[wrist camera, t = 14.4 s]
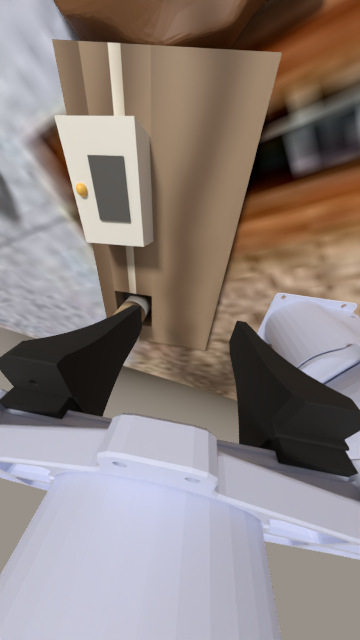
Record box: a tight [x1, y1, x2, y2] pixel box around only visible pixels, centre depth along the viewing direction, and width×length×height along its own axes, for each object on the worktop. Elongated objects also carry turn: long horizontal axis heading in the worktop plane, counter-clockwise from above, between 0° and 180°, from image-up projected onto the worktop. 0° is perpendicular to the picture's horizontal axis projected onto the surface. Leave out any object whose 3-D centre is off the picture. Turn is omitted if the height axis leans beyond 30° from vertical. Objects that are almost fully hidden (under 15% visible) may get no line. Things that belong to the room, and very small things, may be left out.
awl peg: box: [112, 293, 152, 322], centre depth 20 cm, size 3×3×6 cm
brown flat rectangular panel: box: [52, 39, 282, 350], centre depth 17 cm, size 14×24×2 cm, turn 174°
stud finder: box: [54, 115, 154, 247], centre depth 13 cm, size 5×7×3 cm
